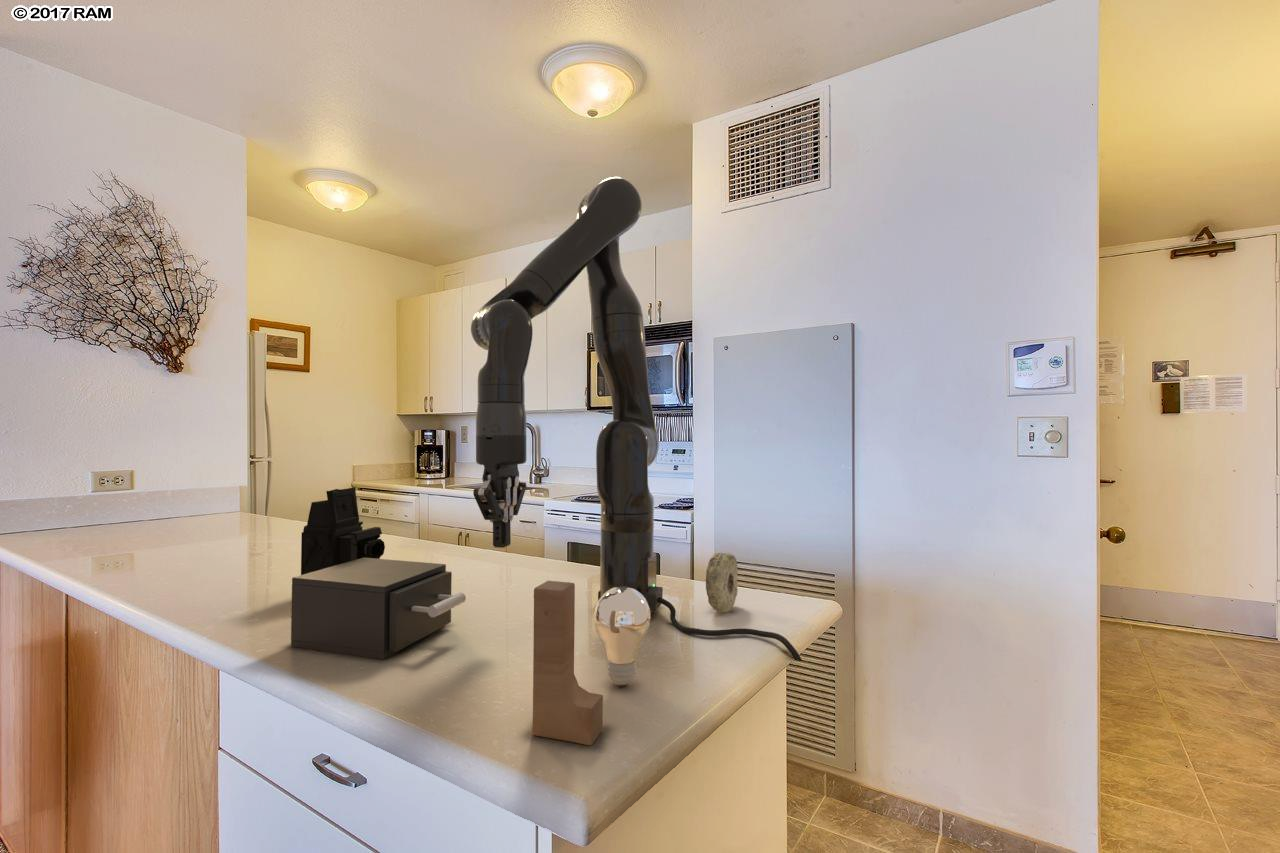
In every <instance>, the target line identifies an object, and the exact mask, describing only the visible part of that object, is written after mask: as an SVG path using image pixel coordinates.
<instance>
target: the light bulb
mask: <svg viewBox="0 0 1280 853" xmlns="http://www.w3.org/2000/svg"><path fill="white" fill-rule="evenodd" d="M651 615H652V613H651V614H650V609H649V605H648V603H647V601H646V599H645V598H644V596H643V595H642V594H641V593H640V592H638V591H637V590H635V589H633V588H631V587H627V586H618V587H614V588H612V589H610V590H608V591H607V592H605V593H604V594H603V595H602V596H601V598H600V599H599V601H598V600H597V603H596V604H595V607H594V612H593V622H594V627H595V630H596V632H597V634H598V636H599V637H600V639H601V640H602V643H603V645H604V648H605V654H606V657H607V659H608V662H607V663H608V664H607V665H608V666H607V667H608V668H607V670H608V672H607V673H608V675H607V676H608V678H609V679H610V681H612V682H613V684H615V685H616V686H617V687H618V688H625V687H627V685H628V684H630V683H631V682H632V681H633V680H634V678H635V677H636V659H637V657H638V655H639V654H638V653H639V648H640V645H641V643H642V641H643V639H644V637H645V636H646V634H647V633H648V630H649V628H650V623H651V620H652V616H651Z"/></svg>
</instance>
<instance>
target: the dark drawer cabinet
mask: <svg viewBox="0 0 1280 853" xmlns="http://www.w3.org/2000/svg"><path fill="white" fill-rule="evenodd" d="M445 571H447V564H445V563H437V562H436V563H435V562H423V561H412V560H411V561H410V560H398V559H388V558H386V559H385V558H380V559H376V558H360V559H357V560H353V561H350V562H346V563H343V564H339V565H335V566H332V567H328V568H325V569H321V570H318V571H314V572H311V573H307V574H304V575H301V574H300V575H296V576H293V577H292V578H291V616H290V618H291V619H290V647H293V648H300V649H307V650H308V649H309V650H315V651H320V652H328V653H335V654H343V655H350V656H358V657H364V658H371V659H378V660H379V659H380V660H385V659H387V658H389V657H391V656H393V655H394V654H396V653H398V652H400V651H402V650H403V649H405V648H407V647H409V646H411V645H413V644H415V643H417V642H418V641H420V640H423V639H424V638H426V637H428V636H429V635H431V634H433V633H435V632H437V631H438V630H440V629H442V628H444V627H445V626H443V627H441V628H439V629H437V630H435V631H434V632H432V633H430V634H428V635H426V636H424V637H422V638H421V639H419V640H417V641H415V642H413V643H411V644H410V645H408V646H406V647H404V648H402V649H400V650H398V651H397V652H393V651H389V643H388V628H389V591H391V590H394V589H397V588H399V587H402V586H404V585H407V584H410V583H412V582H415V581H418V580H420V579H423V578H425V577H428V576H431V575H433V574H434V575H437V574H440V573H442V572H445Z"/></svg>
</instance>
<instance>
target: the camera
mask: <svg viewBox="0 0 1280 853" xmlns="http://www.w3.org/2000/svg"><path fill="white" fill-rule="evenodd" d="M306 522H307V523H306V525H304V526H303V530H302V532H301V546H300V547H301V549H300V551H301V552H300V575H304V574H307V573H311V572H314V571H318V570H321V569H325V568H328V567H332V566H335V565H339V564H343V563H346V562H350V561H353V560H357V559H360V558H376V559H381V557H382V556H383V555H384V553H385V547H386V545H385V542H384V540H382V539H381V535H382V534H383V532H382V528H381V527H380V526H373V527H370V528H365V529H363V526H362V525H363V524H364V521H360V516H359V507H358V500H357V491H356V486H355V487H349V488H341V489H339V488H334V489H331V490H326V499H325V500H319V501H311V504H310V509H309V513H308V518H307V521H306Z"/></svg>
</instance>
